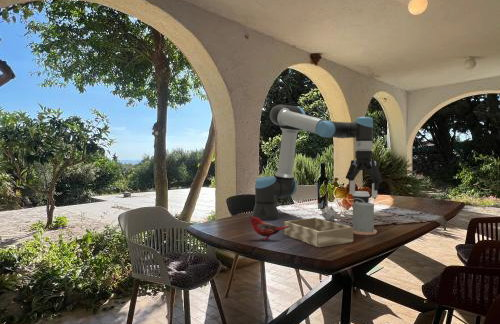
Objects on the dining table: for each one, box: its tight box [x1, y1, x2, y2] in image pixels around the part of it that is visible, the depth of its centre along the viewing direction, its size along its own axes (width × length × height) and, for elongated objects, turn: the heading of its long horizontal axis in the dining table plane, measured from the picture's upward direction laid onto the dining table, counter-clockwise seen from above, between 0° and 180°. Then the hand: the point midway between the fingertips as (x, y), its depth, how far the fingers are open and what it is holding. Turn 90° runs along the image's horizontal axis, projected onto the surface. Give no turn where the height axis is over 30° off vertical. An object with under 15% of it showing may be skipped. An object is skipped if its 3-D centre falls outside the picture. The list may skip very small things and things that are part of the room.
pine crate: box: [283, 217, 354, 248], centre depth 149 cm, size 24×18×6 cm
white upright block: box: [352, 202, 375, 232], centre depth 160 cm, size 10×10×12 cm
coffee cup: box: [351, 190, 371, 203], centre depth 194 cm, size 10×10×15 cm
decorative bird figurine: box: [248, 217, 290, 241], centre depth 145 cm, size 3×18×10 cm, turn 84°
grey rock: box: [319, 205, 339, 222], centre depth 186 cm, size 9×8×10 cm
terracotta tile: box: [353, 228, 378, 236], centre depth 160 cm, size 12×12×1 cm
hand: (362, 195), depth 160 cm, fingers open, 13 cm apart
